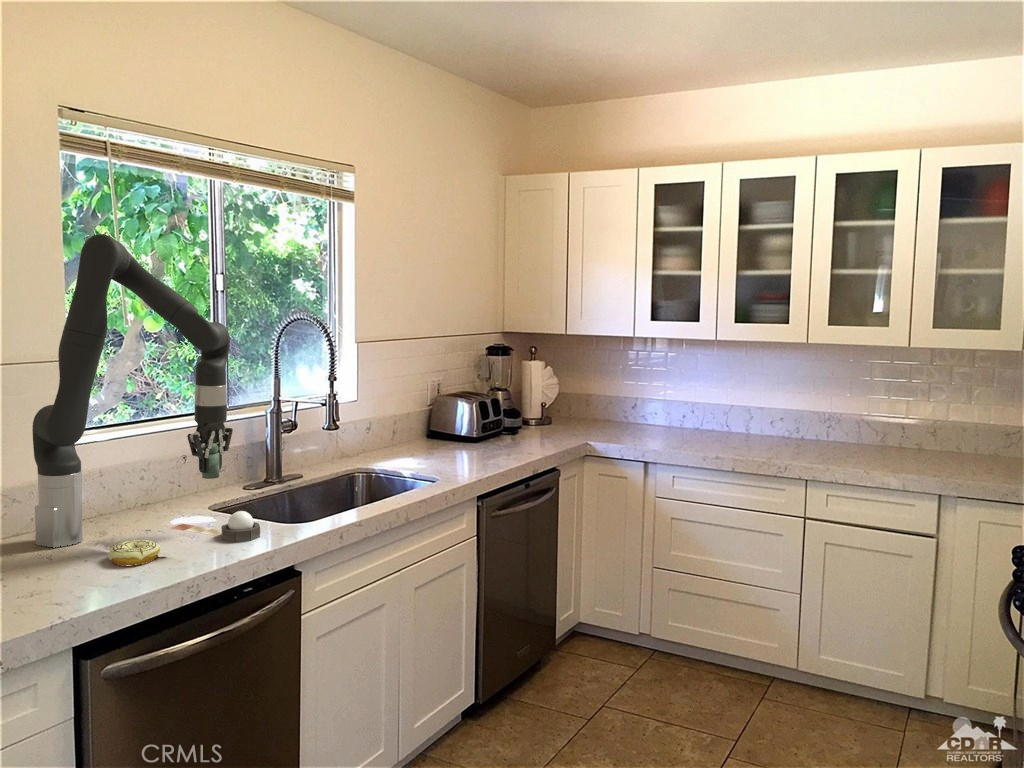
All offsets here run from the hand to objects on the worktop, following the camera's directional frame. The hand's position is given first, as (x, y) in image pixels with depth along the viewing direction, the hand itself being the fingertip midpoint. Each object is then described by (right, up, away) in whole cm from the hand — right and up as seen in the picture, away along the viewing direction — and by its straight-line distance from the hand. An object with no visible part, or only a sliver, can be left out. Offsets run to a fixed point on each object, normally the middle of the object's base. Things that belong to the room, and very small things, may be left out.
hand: (210, 470), depth 208 cm
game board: (0, -17, +2) cm, 17 cm away
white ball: (+8, -16, -1) cm, 18 cm away
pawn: (0, -2, 0) cm, 2 cm away
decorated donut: (-11, -19, -17) cm, 28 cm away
